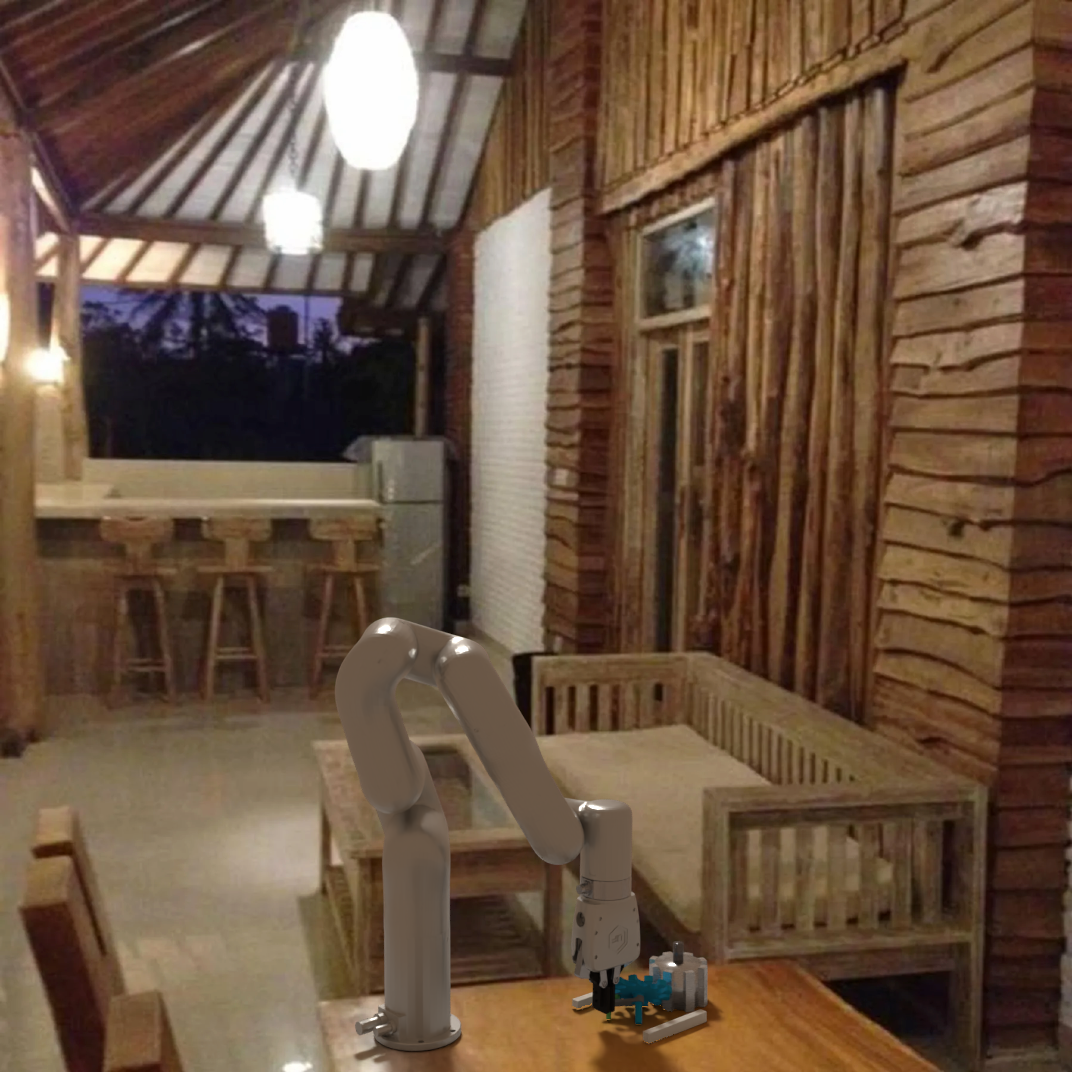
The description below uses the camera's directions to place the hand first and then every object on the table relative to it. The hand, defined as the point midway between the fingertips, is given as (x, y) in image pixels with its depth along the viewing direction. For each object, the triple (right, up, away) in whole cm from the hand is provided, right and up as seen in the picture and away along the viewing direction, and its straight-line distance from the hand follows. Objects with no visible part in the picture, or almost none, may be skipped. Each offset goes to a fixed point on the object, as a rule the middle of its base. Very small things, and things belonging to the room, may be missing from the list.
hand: (603, 1009), depth 194 cm
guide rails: (+5, -2, +4) cm, 7 cm away
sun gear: (+12, -2, +10) cm, 16 cm away
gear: (+5, -3, +4) cm, 7 cm away
